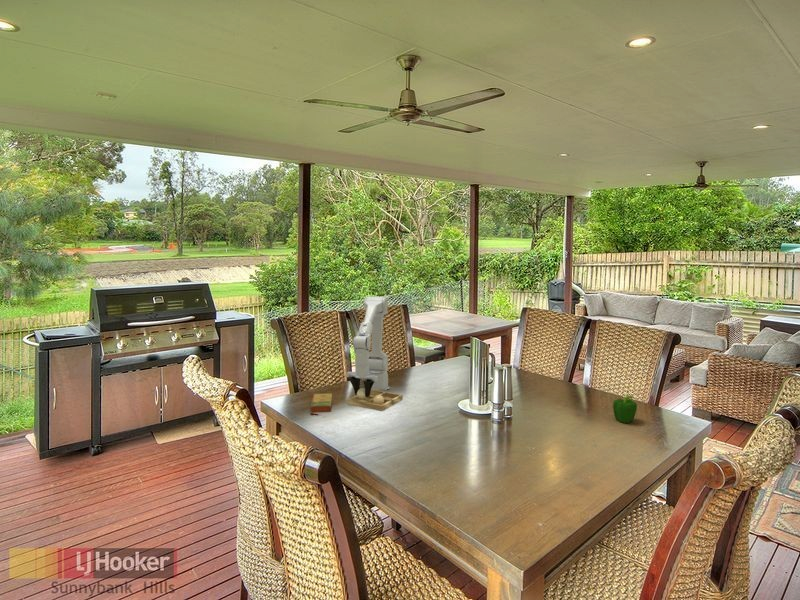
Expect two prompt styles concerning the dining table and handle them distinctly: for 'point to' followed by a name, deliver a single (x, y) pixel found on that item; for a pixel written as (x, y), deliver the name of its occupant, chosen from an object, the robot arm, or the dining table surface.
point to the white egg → (361, 393)
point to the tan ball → (378, 400)
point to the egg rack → (368, 401)
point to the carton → (321, 403)
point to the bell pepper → (624, 409)
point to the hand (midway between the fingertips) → (362, 395)
